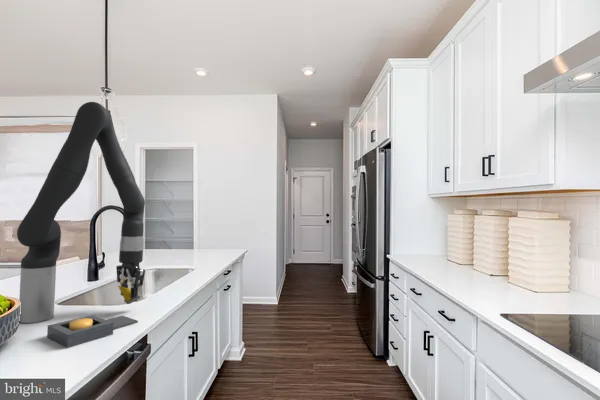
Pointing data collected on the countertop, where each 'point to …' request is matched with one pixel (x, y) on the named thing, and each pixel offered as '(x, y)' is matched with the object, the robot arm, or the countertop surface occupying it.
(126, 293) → the ridged yellow cone
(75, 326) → the button
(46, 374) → the countertop surface
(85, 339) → the grey open box
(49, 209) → the robot arm
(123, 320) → the rest mat
